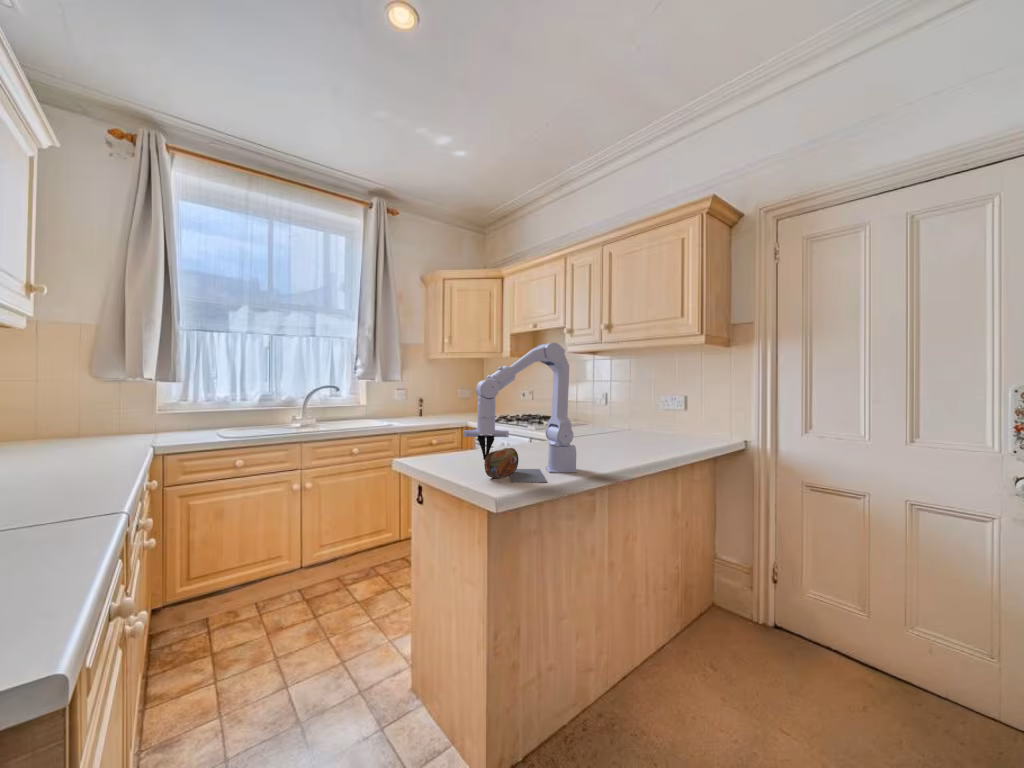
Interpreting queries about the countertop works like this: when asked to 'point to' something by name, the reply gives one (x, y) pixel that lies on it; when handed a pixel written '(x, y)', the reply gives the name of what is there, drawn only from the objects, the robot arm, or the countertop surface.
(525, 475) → the mat
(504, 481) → the countertop surface
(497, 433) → the robot arm
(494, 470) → the tin
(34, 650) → the countertop surface
